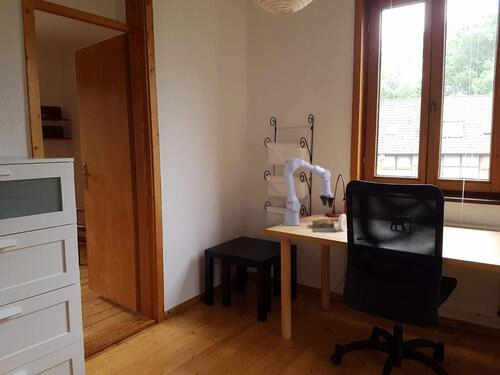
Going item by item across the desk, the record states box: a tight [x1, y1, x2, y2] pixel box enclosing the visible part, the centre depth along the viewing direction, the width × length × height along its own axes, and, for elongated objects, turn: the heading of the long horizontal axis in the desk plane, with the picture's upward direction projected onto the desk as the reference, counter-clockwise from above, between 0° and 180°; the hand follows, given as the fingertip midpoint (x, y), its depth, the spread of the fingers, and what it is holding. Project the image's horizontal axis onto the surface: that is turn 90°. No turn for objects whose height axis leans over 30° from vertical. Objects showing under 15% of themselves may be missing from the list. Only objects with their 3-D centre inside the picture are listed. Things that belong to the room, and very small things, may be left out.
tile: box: [317, 216, 329, 223], centre depth 250 cm, size 6×9×2 cm, turn 173°
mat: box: [312, 227, 338, 233], centre depth 239 cm, size 14×10×1 cm
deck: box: [312, 219, 335, 229], centre depth 250 cm, size 13×11×3 cm
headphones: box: [337, 213, 347, 232], centre depth 241 cm, size 22×2×10 cm, turn 139°
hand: (327, 206), depth 268 cm, fingers open, 7 cm apart
